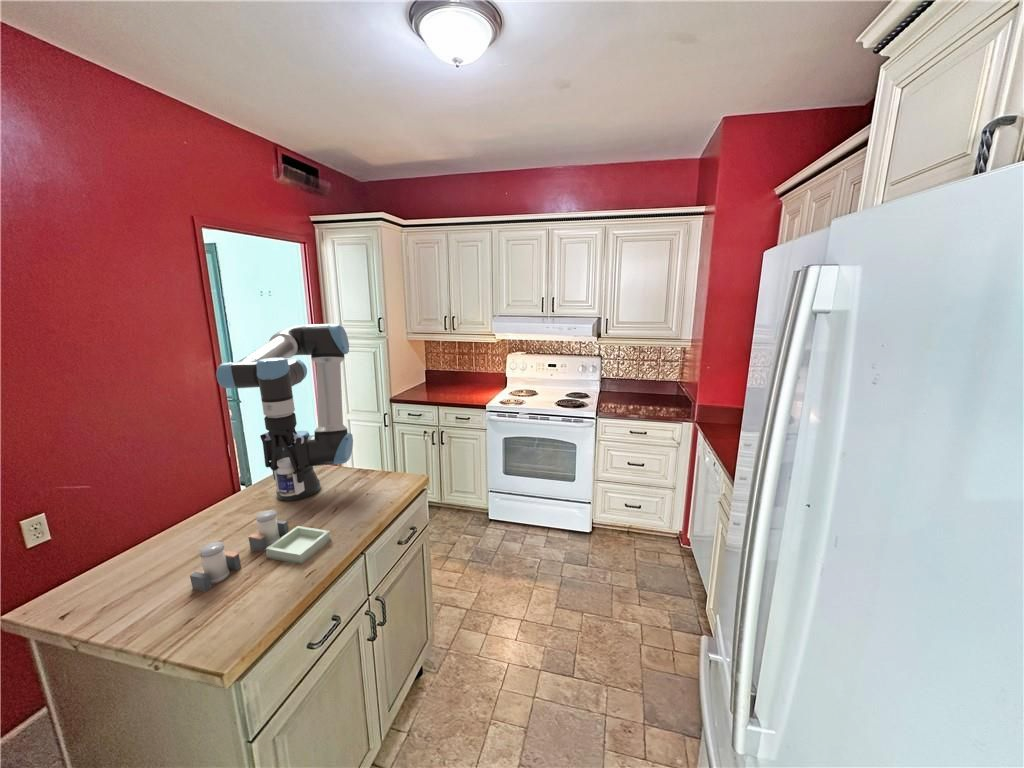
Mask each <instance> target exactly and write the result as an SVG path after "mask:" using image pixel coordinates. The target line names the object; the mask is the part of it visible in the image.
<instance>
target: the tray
mask: <svg viewBox="0 0 1024 768" xmlns="http://www.w3.org/2000/svg"><path fill="white" fill-rule="evenodd" d="M331 540H332V536H331V531H330V530H326V529H319V528H313V527H307V526H301V525H297V526H296V527H295V526H294V528H292V529H291V530H289V532H288V533H287V534H285V535H282V536H280V539H278V540H277V541H276V542H274V543H273V544H271V545H269V546H266V547H267V548H266V549H265V552H266V553H265V554H266V558H267V559H270V560H277V561H281V562H282V561H283V562H287V563H292V564H298V565H303V564H304V563H306V561H308V560H309V559H310V558H311V557H313V555H315V554H317V552H319V551H320V550H321V549H322V548H323V547H324V546H325V545H327V544H328V543H329V542H331Z"/></svg>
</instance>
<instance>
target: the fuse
mask: <svg viewBox="0 0 1024 768" xmlns="http://www.w3.org/2000/svg"><path fill="white" fill-rule="evenodd" d="M255 518H256V523H257V528H258V535H263V536H265V541H266V547H269V546H270V545H271V544H273V543H274V542H276V541H277V540H278V539H280V538H281V536H280V534H279V530H278V524H277V520H278V519H277V518H278V517H277V511H276V510H274V509H269V510H267V509H266V510H264V511H262V512H260V513H258V514H257V515H256V516H255Z"/></svg>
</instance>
